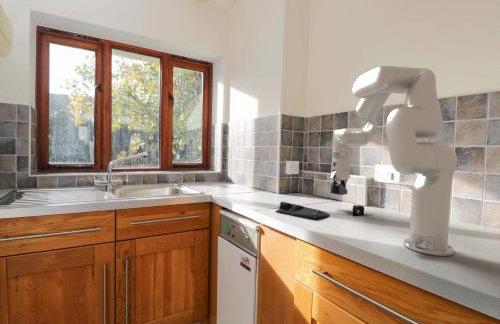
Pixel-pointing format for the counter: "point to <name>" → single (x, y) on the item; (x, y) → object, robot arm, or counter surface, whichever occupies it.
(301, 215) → the dark grey rough slab
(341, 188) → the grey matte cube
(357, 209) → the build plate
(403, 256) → the counter surface
